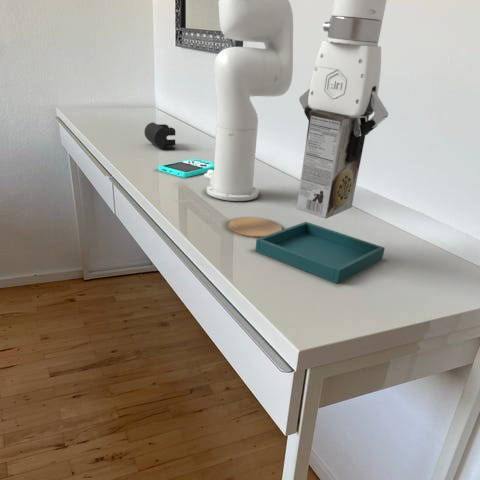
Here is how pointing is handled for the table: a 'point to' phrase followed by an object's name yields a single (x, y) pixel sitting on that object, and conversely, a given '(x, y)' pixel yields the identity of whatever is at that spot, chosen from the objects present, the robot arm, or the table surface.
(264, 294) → the table surface
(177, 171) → the handheld game console
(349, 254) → the tray
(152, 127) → the end cap
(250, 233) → the coaster
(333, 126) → the coffee box
